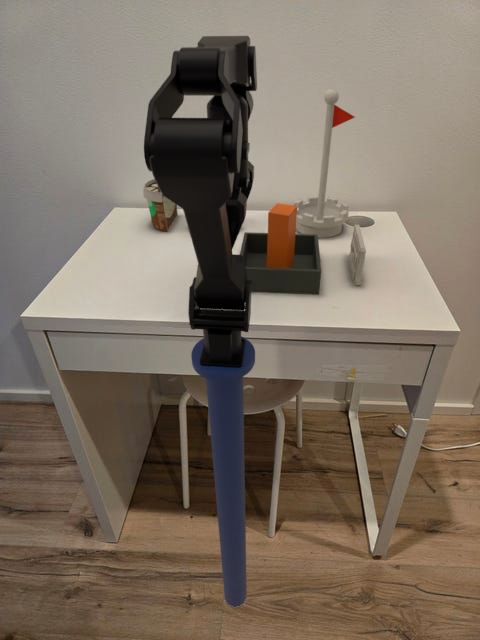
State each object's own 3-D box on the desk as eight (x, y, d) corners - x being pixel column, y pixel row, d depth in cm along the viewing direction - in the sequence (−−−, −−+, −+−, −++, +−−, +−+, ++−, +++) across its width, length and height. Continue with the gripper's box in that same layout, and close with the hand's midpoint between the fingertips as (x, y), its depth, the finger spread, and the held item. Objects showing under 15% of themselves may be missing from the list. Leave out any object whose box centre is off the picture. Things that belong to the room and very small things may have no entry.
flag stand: (287, 236, 101) (295, 93, 84) (295, 215, 112) (303, 83, 94) (344, 242, 99) (365, 95, 81) (347, 219, 109) (365, 84, 91)
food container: (156, 213, 114) (151, 174, 108) (179, 214, 113) (175, 175, 107) (141, 233, 104) (134, 192, 98) (166, 234, 103) (160, 193, 98)
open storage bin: (318, 294, 82) (321, 271, 79) (237, 291, 83) (236, 268, 80) (315, 255, 94) (317, 234, 91) (244, 253, 95) (244, 232, 92)
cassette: (347, 256, 93) (351, 222, 89) (355, 256, 93) (361, 223, 89) (352, 286, 84) (358, 250, 79) (362, 286, 84) (369, 250, 79)
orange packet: (285, 278, 86) (289, 215, 78) (266, 274, 87) (268, 212, 79) (293, 266, 89) (297, 205, 82) (275, 262, 91) (277, 202, 83)
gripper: (186, 124, 71) (193, 214, 80) (157, 158, 56) (170, 264, 65) (254, 124, 70) (254, 216, 79) (243, 159, 55) (244, 267, 64)
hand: (231, 238), depth 72 cm, fingers open, 9 cm apart
